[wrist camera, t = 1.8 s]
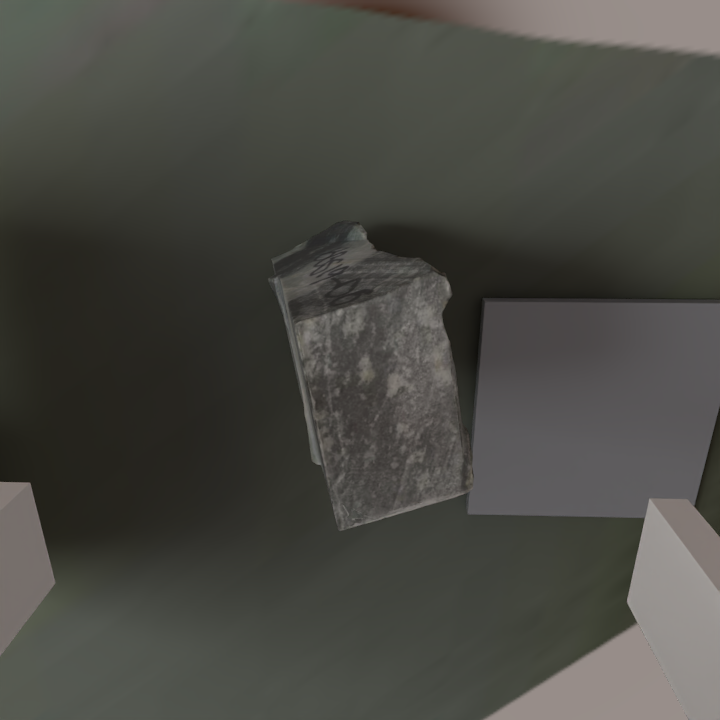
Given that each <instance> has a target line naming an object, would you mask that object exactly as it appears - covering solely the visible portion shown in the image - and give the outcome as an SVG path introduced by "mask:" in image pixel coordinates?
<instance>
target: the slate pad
mask: <svg viewBox="0 0 720 720" xmlns="http://www.w3.org/2000/svg"><path fill="white" fill-rule="evenodd" d="M719 407H720V300H690V299H554V298H482V310H481V323H480V336H479V348H478V361H477V374H476V386H475V399H474V412H473V424H472V437H471V450H472V454H473V461H472V468H473V474H474V481H473V489H472V490H471V491H469V492H468V493H467V500H466V509H467V513H468V514H480V515H529V516H577V517H625V518H645V517H646V512H647V507H648V503H649V498H660V499H688V500H689V501H690V503H691V504H692V505H693V506H694V505H695V501H696V497H697V493H698V489H699V485H700V481H701V478H702V474H703V470H704V466H705V462H706V458H707V454H708V450H709V446H710V442H711V438H712V434H713V430H714V426H715V422H716V419H717V415H718V411H719Z"/></svg>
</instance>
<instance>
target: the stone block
mask: <svg viewBox="0 0 720 720" xmlns="http://www.w3.org/2000/svg"><path fill="white" fill-rule="evenodd" d="M271 259H272V264H273V269H274V273H275V275H273V276H271V277H270V278H268V281H269V284H270V286H271V289H272V291H273V292H274V294H275V296H276V298H277V301H278V304H279V306H280V310H281V313H282V314H283V317H284V323H285V326H286V331H287V335H288V340H289V344H290V349H291V354H292V358H293V363H294V367H295V372H296V376H297V381H298V385H299V389H300V393H301V398H302V401H303V404H304V409H305V411H304V415H305V419H306V422H307V429H308V436H309V445H310V452H311V458H312V461H313V462H314V463H316V464H318V465H321V466H322V469H323V473H324V476H325V480H326V484H327V488H328V491H329V496H330V500H331V504H332V508H333V512H334V516H335V520H336V524H337V527H338V530H339V531H342V530H345V529H349V528H352V527H356V526H359V525H363V524H366V523H370V522H373V521H377V520H380V519H384V518H387V517H390V516H394V515H397V514H400V513H404V512H407V511H411V510H414V509H417V508H420V507H423V506H427V505H430V504H434V503H437V502H441V501H444V500H447V499H451V498H454V497H457V496H460V495H463V494H466V493H468V492H469V491H471V490H472V489H473V481H474V474H473V468H472V461H473V454H472V450H471V447H470V440H469V433H468V431H467V428H466V427H465V426H464V424H463V423H462V418H461V410H460V401H459V393H458V384H457V376H456V369H455V365H454V361H453V356H452V349H451V343H450V340H449V339H448V336H447V333H446V330H445V327H444V324H443V316H442V312H443V310H444V309H445V307H446V305H447V303H448V301H449V299H450V298H451V297H452V294H453V293H452V290H451V287H450V284H449V281H448V279H447V276H446V274H445V273H444V272H440V271H439V270H437V269H436V268H434V267H433V266H431V265H430V264H428V263H427V262H424V261H423V260H422V259H421V258H407V257H400V256H396V255H393V254H391V253H386V252H384V251H377V250H376V249H375V247H374V245H373V244H371V243H370V242H369V241H368V235H367V232H366V231H365V230H364V228H363V227H362V226H361V225H360V224H359V222H351V221H341V222H338V223H336V224H334V225H332V226H331V227H329V228H328V229H326V230H324V231H323V232H321V233H319V234H317V235H315V236H313V237H312V238H310V239H308V240H307V241H305V242H304V243H302V244H300V245H298V246H296V247H294V248H293V249H292V250H290V251H288V252H285V253H283V254H281V255H278V256H276V257H274V258H271Z"/></svg>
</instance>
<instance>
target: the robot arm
mask: <svg viewBox="0 0 720 720" xmlns="http://www.w3.org/2000/svg"><path fill="white" fill-rule="evenodd" d="M54 584H55V580H54V576H53V572H52V568H51V564H50V560H49V556H48V552H47V548H46V544H45V540H44V536H43V532H42V528H41V524H40V520H39V516H38V512H37V508H36V504H35V500H34V496H33V492H32V488H31V484H30V483H24V482H0V655H1V654H2V653H3V652H4V650H5V649H6V648H7V646H8V645H9V644H10V642H11V641H12V640H13V638H14V637H15V636H16V634H17V633H18V632H19V630H20V629H21V628H22V627H23V625H24V624H25V623H26V621H27V620H28V619H29V617H30V616H31V615H32V613H33V612H34V611H35V609H36V608H37V607H38V605H39V604H40V603H41V602H42V600H43V599H44V598H45V596H46V595H47V594H48V592H49V591H50V590H51V588H52V587H53V586H54ZM627 604H628V605H629V607H630V609H631V611H632V613H633V615H634V617H635V619H636V621H637V623H638V625H639V626H640V628H641V630H642V632H643V634H644V636H645V638H646V640H647V642H648V644H649V645H650V647H651V649H652V651H653V653H654V655H655V657H656V659H657V661H658V663H659V665H660V666H661V668H662V670H663V672H664V674H665V676H666V678H667V680H668V682H669V684H670V686H671V687H672V689H673V691H674V693H675V695H676V697H677V699H678V701H679V703H680V705H681V707H682V708H683V710H684V712H685V714H686V716H687V718H688V720H720V537H719V536H718V534H717V533H716V532H715V531H714V530H713V529H712V527H711V526H710V525H709V524H708V523H707V521H706V520H705V519H704V518H703V517H702V516H701V514H700V513H699V512H698V511H697V510H696V509H695V507H694V506H693V505H692V504H691V503H690V501H689V500H688V499H660V498H649V503H648V507H647V512H646V517H645V521H644V526H643V530H642V535H641V539H640V544H639V549H638V553H637V558H636V562H635V567H634V571H633V576H632V581H631V585H630V590H629V594H628V599H627Z"/></svg>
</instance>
